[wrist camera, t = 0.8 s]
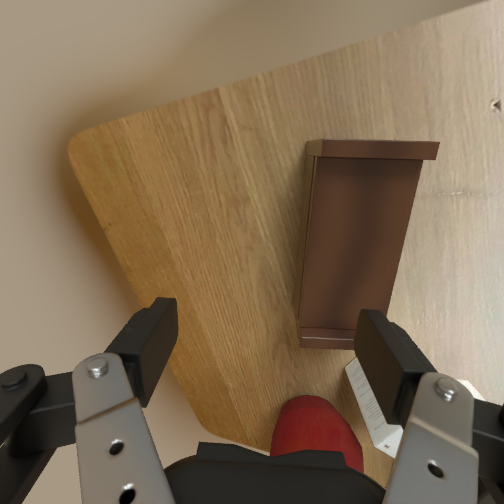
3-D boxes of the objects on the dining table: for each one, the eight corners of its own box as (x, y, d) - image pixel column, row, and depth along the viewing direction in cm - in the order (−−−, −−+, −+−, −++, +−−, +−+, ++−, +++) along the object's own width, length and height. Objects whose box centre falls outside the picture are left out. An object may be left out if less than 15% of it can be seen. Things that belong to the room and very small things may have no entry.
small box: (373, 386, 37) (413, 472, 27) (342, 366, 36) (372, 448, 26) (419, 348, 34) (481, 428, 25) (387, 326, 33) (439, 400, 24)
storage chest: (292, 302, 33) (300, 347, 25) (306, 141, 26) (323, 138, 19) (359, 305, 33) (387, 352, 25) (390, 143, 26) (440, 141, 19)
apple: (296, 441, 41) (307, 546, 31) (252, 399, 39) (248, 498, 28) (360, 411, 39) (397, 514, 28) (318, 363, 36) (341, 457, 25)
